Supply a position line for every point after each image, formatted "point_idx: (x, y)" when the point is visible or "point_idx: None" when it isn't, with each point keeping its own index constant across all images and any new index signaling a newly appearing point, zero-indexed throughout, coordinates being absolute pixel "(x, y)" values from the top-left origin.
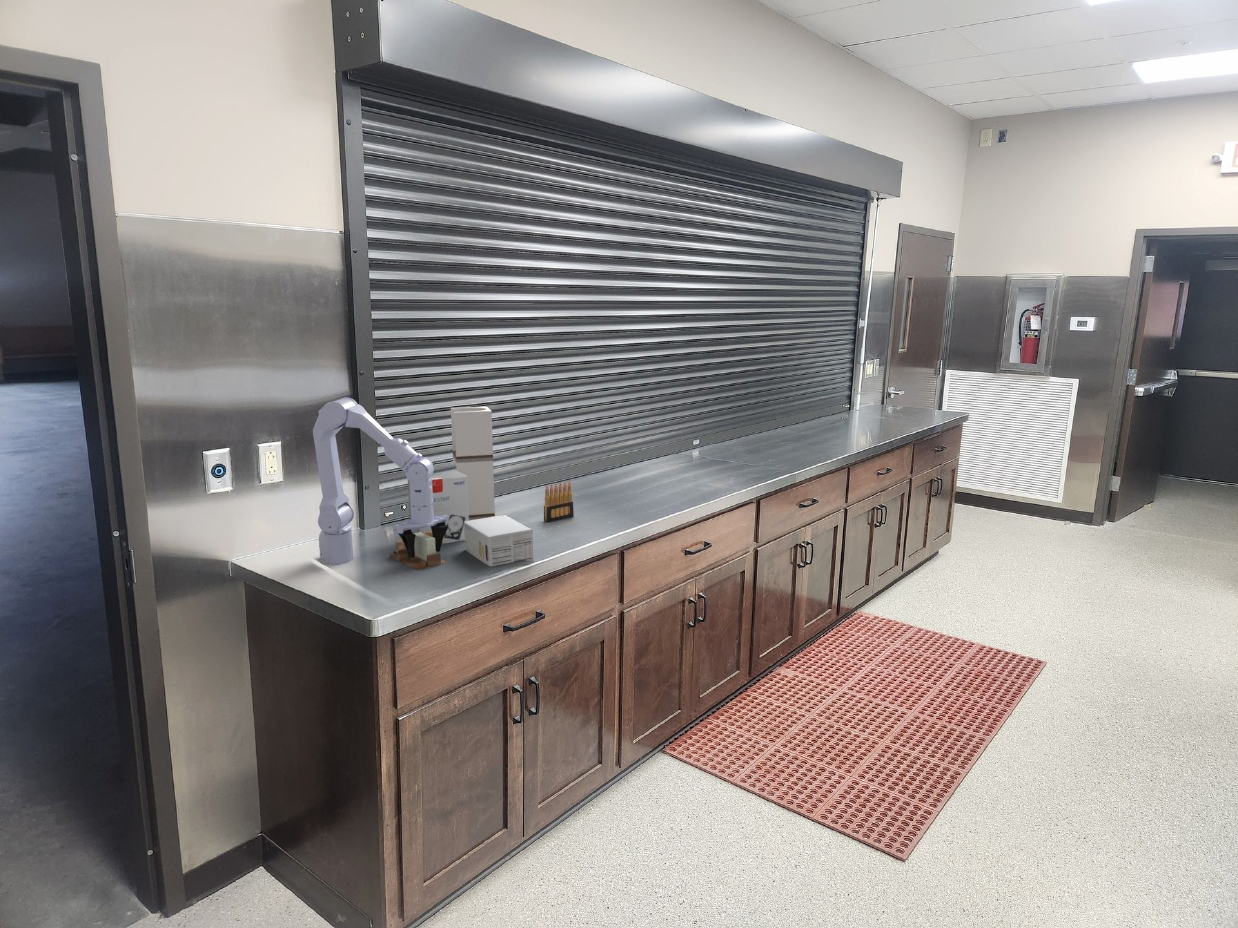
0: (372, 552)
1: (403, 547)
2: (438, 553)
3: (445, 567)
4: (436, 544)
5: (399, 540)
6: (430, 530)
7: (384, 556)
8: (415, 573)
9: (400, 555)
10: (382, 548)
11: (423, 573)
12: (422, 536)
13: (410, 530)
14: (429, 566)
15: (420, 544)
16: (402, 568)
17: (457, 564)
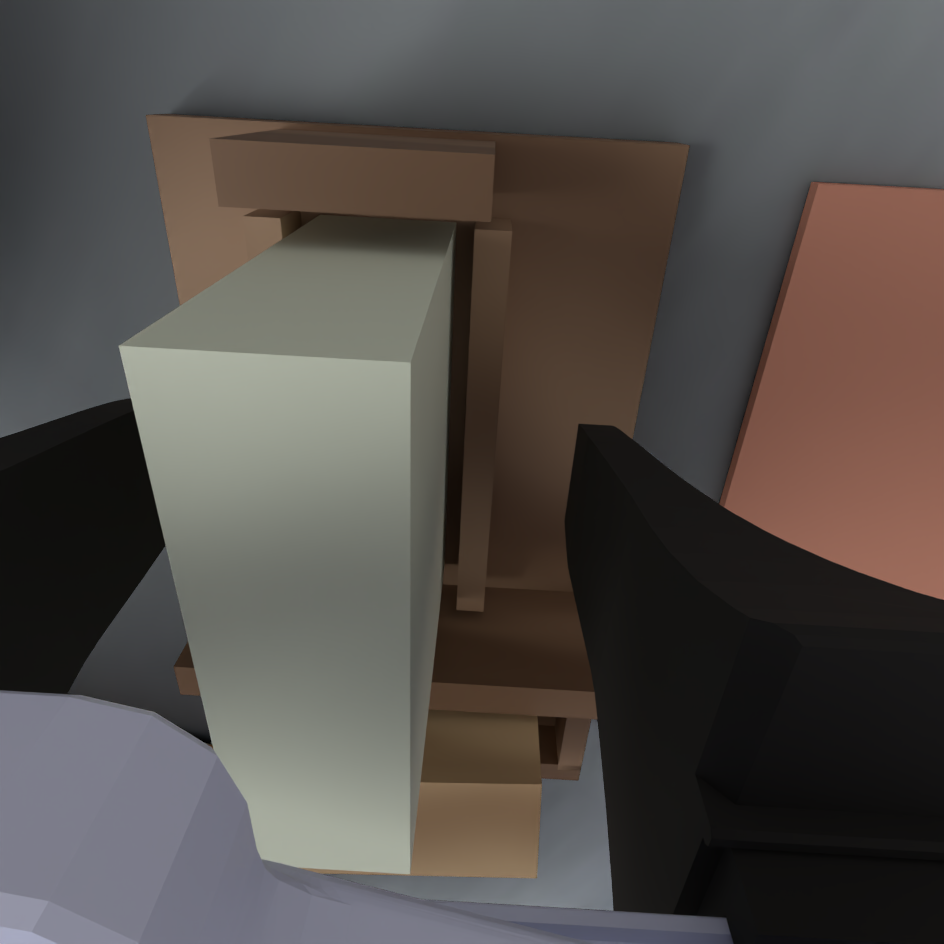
0: (554, 885)
1: (524, 731)
2: (243, 162)
3: (241, 63)
4: (117, 493)
5: (488, 870)
6: None
7: (549, 790)
8: (700, 169)
9: None
10: (449, 899)
11: (630, 72)
12: (337, 670)
13: (792, 910)
14: (480, 141)
15: (428, 550)
16: (666, 454)
17: (28, 45)
